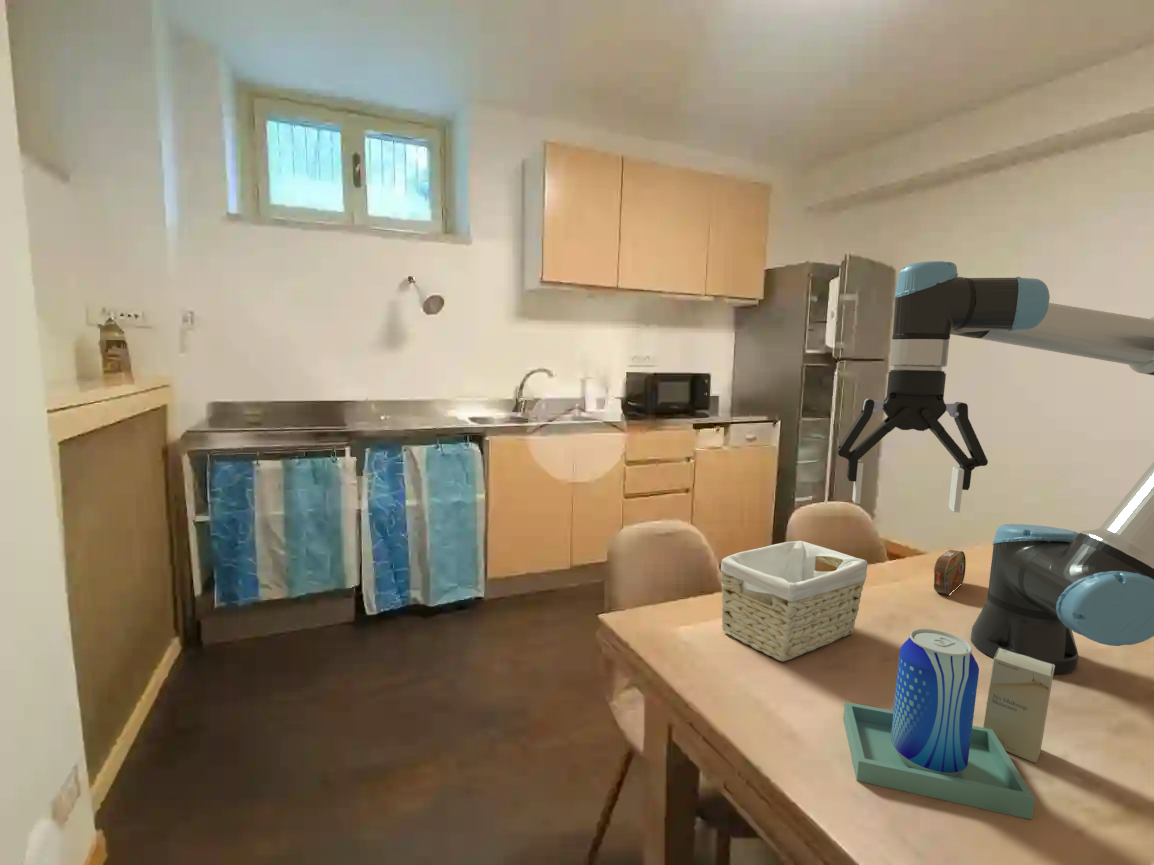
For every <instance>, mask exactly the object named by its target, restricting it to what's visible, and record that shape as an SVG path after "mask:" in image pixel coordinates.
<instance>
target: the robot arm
mask: <svg viewBox="0 0 1154 865" xmlns="http://www.w3.org/2000/svg"><path fill="white" fill-rule="evenodd" d="M898 272H899V273H898V276H897V281H896V288H895V294H894V309H893V312H894V313H893V325H892V326H893V327H892V336H891V339H892V340H891V347H890V357H889V366H892V367H893V369H890V371H889V372H888V377H887V386H886V387H887V390H886V396H885V399H884V400H883V401H881V400H874V399H871V398H868V397H867V398H864V399H863V401H862V406H861V411H860V412H859V414H858V416H857V417H856V419H855V421H854V422H853V424H852V425H851V427H850V428H849V430H848V431H847V433H846V435H844V438H843V439H842V441H841V442H840V443H839V445H838V447H837V448H836V451H835V452H836V453H837V455H838V456H839V457H841V458H845V459H847V472H846V473H847V474H846V477H847V480H848V481H849V482H853V488H852V498H851V500H852V502H853V504H859V505H861V499H862V497H861V496H862V487H863V486H862V485H863V484H862V483H863V473H864V462H863V461H862V460H860V459H861V458H862V457H863V456H864V455H866V453H868V452H869V451H871V449H872V448H873V447H874V446H876V445H877V444H878V443H879V442H880V441H881V440H882V439H883V438H884V437H886V436H887V435H888V434H889V433H890V432H892V431H893V430H895V428H897V429H899V430H901V431H909V430H916V431H919V432H925V431H927V430H930V432H931V433H932V434H933V435H934V436H935V437H936V438H937V440H938V441H939V442H940V443H941V444H942V445H943V447H944V448H945V449H946V451H947V452H948V453H949V454H950V455H951V456H952V458H953V459H954V460H955V462H956V463H957V464H958V465H959V466H952V469H951V470H952V471H951V480H950V489H949V496H948V497H949V499H948V505H947V506H948V509H950V510H951V511H952V512H954V513H960V512H961V504H962V495H963V494H962V493H963V491H969V489H970V487H971V477H972V471H973V470H974V469H976V468H977V467H986V466H987V465H988V464H989V461H988V459H987V456H986V454H985V452H984V449H983V447H982V445H981V443H980V441H979V438H978V436H977V434H976V432H975V430H974V428H973V425H972V424H971V421H970V419H969V405H968V404H967V403H966V402H961V401H957V402H954V403H945V400H944V399H945V398H944V396H945V387H946V380H947V379H946V377H947V373H945V371H944V370H943V368H945V367H947V365H948V360H949V359H948V358H949V348H950V339H951V335H953V336H957V337H958V336H959V337H965V338H970V339H979V340H984V341H990V342H996V343H1002V344H1009V345H1014V346H1020V347H1025V348H1029V349H1037V350H1042V351H1048V352H1054V353H1059V354H1066V355H1072V356H1077V357H1083V358H1089V359H1095V360H1101V361H1105V362H1106V361H1107V362H1112V363H1119V364H1123V365H1127V366H1129V368H1131V370H1132V371H1134V372H1136V373H1138V374H1144V375H1149V376H1154V316H1152V317H1149V318H1147V317H1146V318H1145V317H1140V316H1139V317H1138V316H1134V315H1128V314H1127V315H1126V314H1121V313H1114V312H1108V311H1103V310H1096V309H1091V308H1090V309H1089V308H1083V307H1077V306H1072V305H1065V304H1060V303H1059V304H1058V303H1053V302H1050V298H1051V297H1050V296H1051V295H1050V292H1049V288H1048V285H1046V283H1045V282H1044V281H1043V280H1041V279H1039V278H1034V277H1032V278H1031V277H1030V278H1029V277H1028V278H1027V277H1021V276H1016V277H963V276H959V273H958V267H957V264H956V263H955V262H952V261H945V260H944V261H941V260H937V261H936V260H934V261H930V260H929V261H920V262H915V263H914V262H912V263H909V264H907V265H904V266H903V267H902V268H901V269H900V270H899V271H898ZM880 409H882V411H883V412H884V413H885V415H886V418H885V419H883V420H882V421H881V422H880V424H879V425H878V426H877V427H876V428H875V429H874V430H872V431H871V433H869V435H867V436H866V437H865V438H864V439H863V440H862V441H861V442H860V443H859V444H857V445H856V446H855V447H854V448H853V449H852V447H853V445H854V444H855V442H856V441H857V439H858V438H859V436H860V435H861V433H862V431H863V430H864V429H865V427H866V426H867V424H868V423H869V421H870V419H871V417H872V415H875V414H877V413H878V411H879V410H880ZM946 412H947V413H948V415H949V416H950V417H952V418H953V420H954V422H955V424H956V426H957V429H958V430H959V434H960V435H961V438H962V440H963V442H964V444H965V446H966V448H967V451H968V453H969V455H970V457H968V456H967V455H966V453H965V452H964V451H963V450H962V449H961V447H960V446H959V445H958V444H957V442H955V440H954V439H953V438H952V436H951V435H950V434H949V433H948V432H947V431H946V429H945V427H944V426H943V425H942V423H941V422H940V421H939V419H940V418H941V417H942V416H943V415H944V414H945V413H946ZM850 449H852V450H850ZM992 545H993V546H992V548H993V549H992V556H991V563H990V564H991V566H990V572H989V581H988V591H987V598H986V603H985V604H984V606H983V607H982V610H981V611H980V613H978V616H977V618H976V619H975V622H974V623H973V625H972V627H971V633H970V642H971V643H972V645H973V646H974V647H975V648H976V649H977V650H978V651H980V652H981V653H983V654H984V655H986V656H988V657H991V658H992V659H994V656H995V654H996V652H997V650H998V649H999V648H1002V649H1005V650H1008V651H1011V652H1014V653H1018V654H1021V655H1025V656H1028V657H1031V658H1034V659H1037V660H1040V661H1044V662H1047V663H1050V664H1053V665H1055V668H1054V674H1053V675H1063V674H1069V673H1072V672H1074V671H1076V670H1077V668H1078V662H1079V661H1078V660H1079V651H1078V648H1077V647H1078V646H1077V645H1076V644H1077V643H1076V640H1075V637H1074V633H1076V634H1078V635H1081V636H1083V637H1086V638H1087V639H1088V640H1091V641H1092V642H1096V643H1099V644H1101V645H1105V646H1112V647H1121V646H1126V645H1127V646H1132V645H1136V644H1140V643H1143V642H1145V641H1148V640H1150V639H1151V638H1153V637H1154V461H1152V463H1151V464H1150V465H1149V466H1148V468H1147V469H1146V471H1145V472H1144V473H1143V474H1142V475H1141V477H1140V478H1139V479H1138V480H1137V481H1136V483H1135V484H1134V485H1133V487H1131V489H1130V490H1129V491H1128V492H1127V493H1126V495H1125V496H1124V498H1122V500H1121V501H1120V502H1119V504H1118V505H1117V506H1116V507H1115V508H1114V509H1113V511H1112V513H1110V515H1109V516H1108V517H1107V518H1106V520H1105V521H1104V522H1103V523H1102V524H1101V526H1100V527H1098V528H1095V529H1089V530H1083V531H1082V530H1081V531H1080V532H1077V531H1074V530H1070V529H1065V528H1058V527H1054V526H1053V527H1052V526H1044V525H1037V524H1025V523H1024V524H1023V523H1021V524H1020V523H1008V524H1007V523H1006V524H1001V525H1000V526H999V527H997V529H996V531H995V535H994V538H993V541H992ZM1073 632H1074V633H1073Z"/></svg>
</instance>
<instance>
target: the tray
mask: <svg viewBox="0 0 1154 865" xmlns="http://www.w3.org/2000/svg"><path fill="white" fill-rule="evenodd" d="M843 707H844V708H843V717H842V718H843V723H844V727H845V728H844V729H845V732H846V738H847V741H848V746H849V752H850V756H851V760H852V764H853V770H854V774H855V779H856V782H861V783H865V784H870V785H875V786H879V787H883V788H888V789H893V790H896V791H902V792H906V793H910V794H915V795H919V796H924V797H929V798H933V799H936V800H937V799H938V800H942V801H946V802H951V803H954V804H955V803H956V804H959V805H965V806H969V807H972V808H973V807H974V808H979V809H983V810H987V811H991V812H995V813H1000V814H1005V815H1010V816H1014V817H1019V818H1022V819H1027V820H1031V821H1032V820H1033V816H1034V815H1033V814H1034V808H1035V800H1036V798H1035V797H1034V795H1033V793H1032V792H1031V790H1030V788H1029V787H1028V785H1027V783H1026V782H1025V780H1024V778H1023V777H1022V776H1021V774H1020V772H1019V771H1018V768H1016V766H1015V764H1014V762H1013V760H1012V759H1011V757H1010V756H1009V754H1008V752H1007V751H1005V749H1004V748H1003V746H1002V744H1001V743H1000V741H999V740H998V738H997V736H996V735H995V733H994V731H993V730H992V729H988V728H983V726H977V725H972V732H971V741H970V749H969V757H968V765H967V767H966V769H964V770H963V771H961V772H959V773H958V774H957V775H956V776H954V777H950V776H946V775H941V774H936V773H932V772H927V771H922V770H917V769H913V768H911V767H909V766H908V765H907V764H905V763H904V762H903V761H902V760H901V759H900V757H899V756H898V754H897V751H896V750H895V748H894V747H893V745H892V743H891V731H892V722H893V712H894V710H891V709H885V708H880V707H875V706H870V705H865V704H864V705H863V704H858V703H852V702H848V701H844V706H843Z"/></svg>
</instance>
